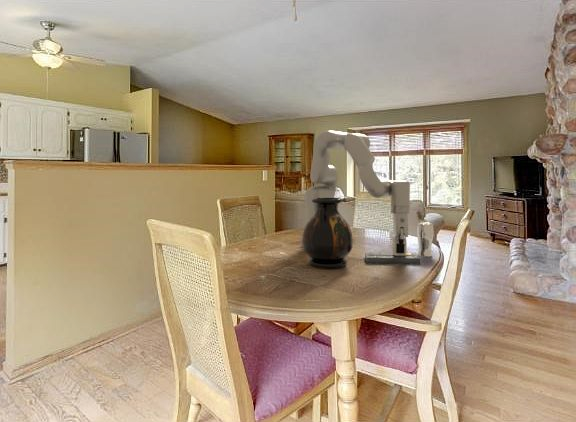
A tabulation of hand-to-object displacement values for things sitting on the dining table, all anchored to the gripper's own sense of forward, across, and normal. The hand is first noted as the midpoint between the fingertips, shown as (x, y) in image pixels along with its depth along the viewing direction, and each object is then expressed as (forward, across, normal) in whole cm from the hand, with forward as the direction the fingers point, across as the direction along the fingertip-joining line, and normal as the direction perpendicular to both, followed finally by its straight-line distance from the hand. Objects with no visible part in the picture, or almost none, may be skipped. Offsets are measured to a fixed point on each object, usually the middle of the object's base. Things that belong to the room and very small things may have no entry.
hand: (399, 251), depth 152 cm
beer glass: (+4, +11, -13) cm, 18 cm away
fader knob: (+1, 0, 0) cm, 1 cm away
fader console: (+4, 0, +3) cm, 5 cm away
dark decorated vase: (+5, -8, +31) cm, 32 cm away
